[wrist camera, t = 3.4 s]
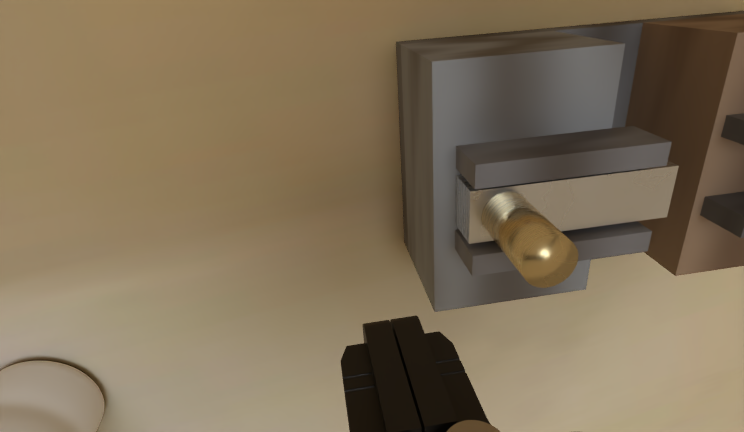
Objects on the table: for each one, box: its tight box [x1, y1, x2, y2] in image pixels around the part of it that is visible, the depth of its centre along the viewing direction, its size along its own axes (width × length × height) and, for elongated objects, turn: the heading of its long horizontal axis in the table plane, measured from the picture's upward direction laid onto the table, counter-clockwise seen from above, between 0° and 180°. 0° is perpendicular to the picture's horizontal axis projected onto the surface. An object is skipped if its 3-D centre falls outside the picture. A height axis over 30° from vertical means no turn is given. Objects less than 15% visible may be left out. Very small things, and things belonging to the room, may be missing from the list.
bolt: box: [456, 161, 679, 288], centre depth 19 cm, size 9×2×6 cm, turn 94°
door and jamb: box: [396, 11, 744, 312], centre depth 24 cm, size 20×12×10 cm, turn 94°
